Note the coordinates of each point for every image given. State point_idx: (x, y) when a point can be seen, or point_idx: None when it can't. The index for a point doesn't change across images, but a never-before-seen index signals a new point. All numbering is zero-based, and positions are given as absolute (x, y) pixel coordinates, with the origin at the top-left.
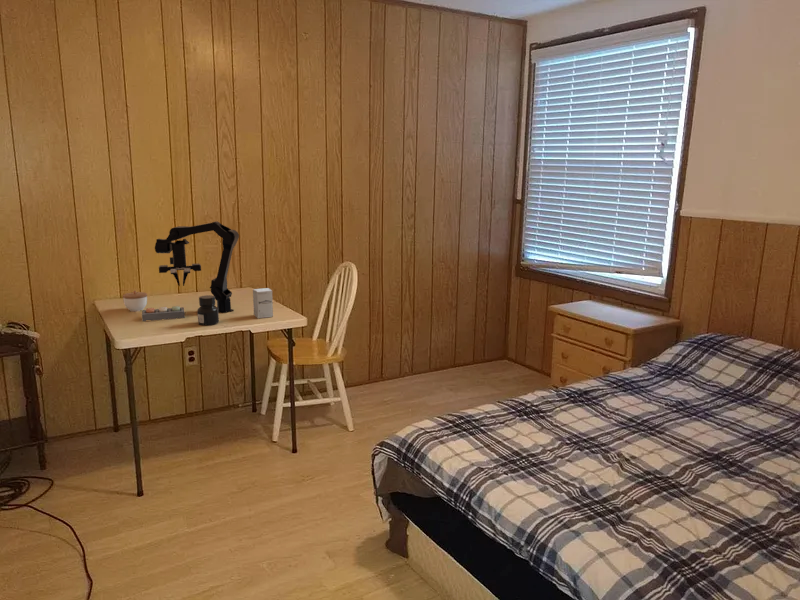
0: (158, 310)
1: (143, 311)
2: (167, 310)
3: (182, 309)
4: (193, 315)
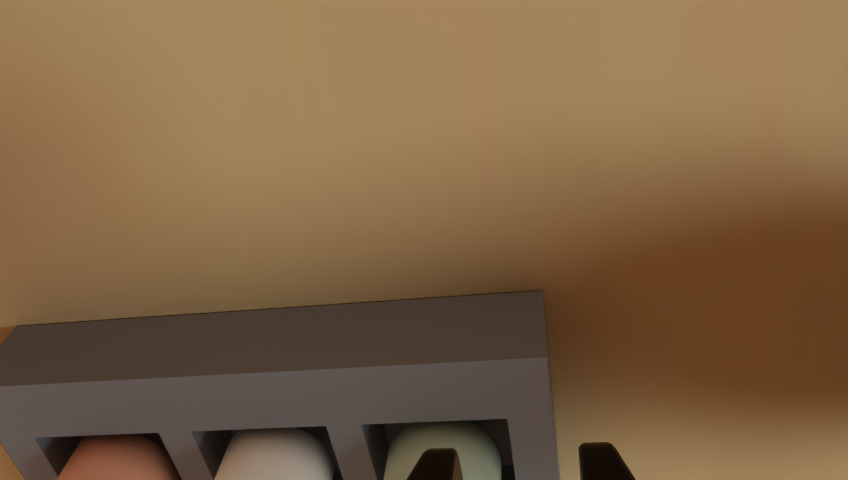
0: (195, 427)
1: (19, 449)
2: (329, 478)
3: (534, 470)
4: (671, 409)
